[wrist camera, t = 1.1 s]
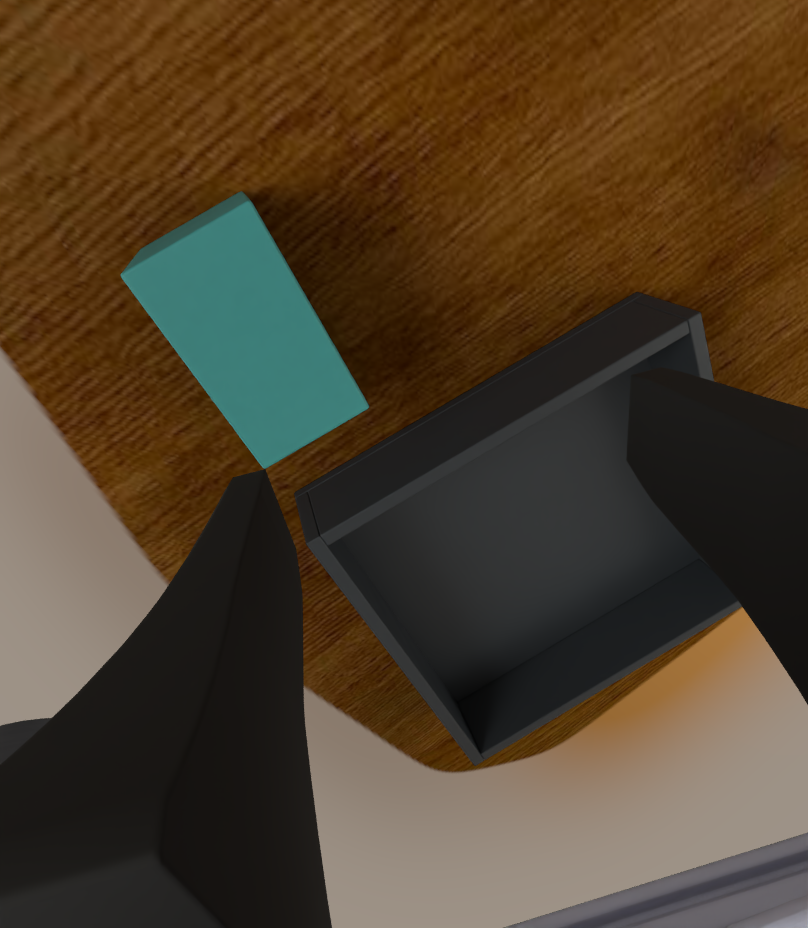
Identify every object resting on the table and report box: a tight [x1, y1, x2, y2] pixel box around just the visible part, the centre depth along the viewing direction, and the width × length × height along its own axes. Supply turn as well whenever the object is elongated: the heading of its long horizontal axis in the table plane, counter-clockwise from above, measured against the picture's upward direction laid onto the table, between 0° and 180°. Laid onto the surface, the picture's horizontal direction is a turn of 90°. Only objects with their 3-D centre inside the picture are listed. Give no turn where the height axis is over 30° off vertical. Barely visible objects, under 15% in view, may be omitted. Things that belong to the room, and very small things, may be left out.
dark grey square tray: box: [294, 292, 742, 766], centre depth 28 cm, size 17×17×4 cm
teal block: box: [121, 192, 369, 469], centre depth 20 cm, size 4×7×5 cm, turn 27°
